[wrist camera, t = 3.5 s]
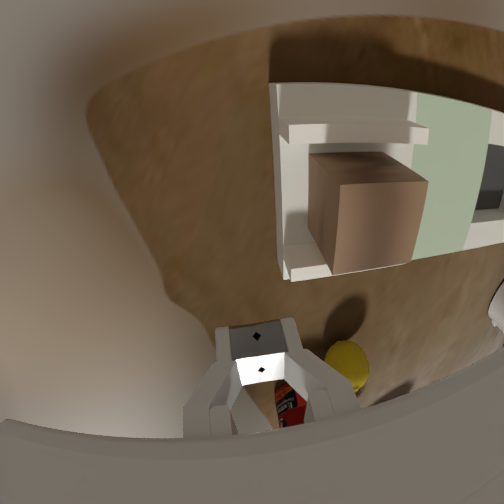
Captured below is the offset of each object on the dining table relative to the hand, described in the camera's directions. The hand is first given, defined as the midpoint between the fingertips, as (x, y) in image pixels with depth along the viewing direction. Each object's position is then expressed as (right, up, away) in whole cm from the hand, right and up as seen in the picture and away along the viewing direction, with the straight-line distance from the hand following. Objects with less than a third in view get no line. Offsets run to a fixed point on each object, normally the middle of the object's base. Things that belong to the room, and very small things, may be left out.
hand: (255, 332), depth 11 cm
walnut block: (+7, +8, +10) cm, 15 cm away
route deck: (+18, +11, +13) cm, 24 cm away
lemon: (+11, -9, +26) cm, 30 cm away
